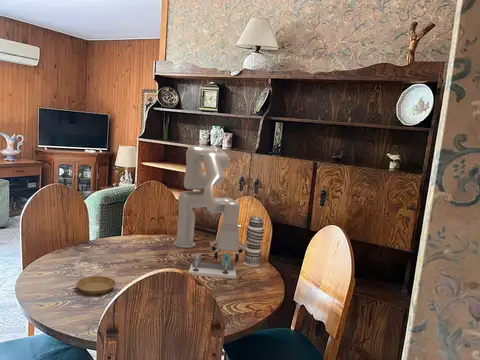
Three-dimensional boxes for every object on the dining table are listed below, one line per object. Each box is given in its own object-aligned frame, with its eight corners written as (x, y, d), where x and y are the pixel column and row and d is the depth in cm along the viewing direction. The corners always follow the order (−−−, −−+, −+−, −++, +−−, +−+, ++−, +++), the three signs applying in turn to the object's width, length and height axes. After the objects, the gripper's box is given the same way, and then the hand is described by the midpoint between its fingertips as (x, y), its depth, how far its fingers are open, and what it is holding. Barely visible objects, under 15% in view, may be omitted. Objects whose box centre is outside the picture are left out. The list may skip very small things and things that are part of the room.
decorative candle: (259, 267, 198) (264, 220, 195) (241, 264, 200) (246, 218, 197) (261, 262, 207) (266, 217, 204) (244, 259, 209) (249, 214, 206)
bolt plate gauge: (190, 267, 189) (192, 252, 189) (235, 271, 190) (236, 256, 189) (188, 274, 180) (190, 259, 179) (235, 278, 181) (237, 263, 180)
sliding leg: (221, 266, 189) (222, 253, 189) (229, 267, 190) (231, 253, 189) (221, 271, 182) (222, 258, 181) (229, 272, 182) (231, 258, 181)
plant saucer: (102, 279, 166) (102, 273, 165) (122, 290, 156) (122, 284, 156) (69, 287, 154) (69, 281, 154) (88, 300, 145) (88, 294, 145)
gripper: (247, 226, 189) (243, 259, 191) (212, 222, 188) (208, 256, 191) (248, 230, 182) (244, 265, 184) (211, 226, 181) (207, 261, 183)
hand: (226, 260), depth 187 cm, fingers open, 9 cm apart
